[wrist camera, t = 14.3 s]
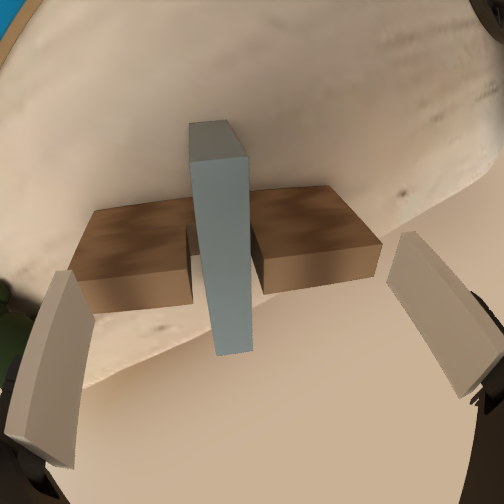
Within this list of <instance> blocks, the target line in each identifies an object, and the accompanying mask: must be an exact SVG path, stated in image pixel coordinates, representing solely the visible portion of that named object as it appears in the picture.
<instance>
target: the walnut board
mask: <svg viewBox="0 0 504 504" xmlns="http://www.w3.org/2000/svg"><path fill="white" fill-rule="evenodd" d="M249 205H250V251H251V256H252V259H253V262H254V266H255V269H256V272H257V275H258V278H259V281H260V284H261V288H262V291H263V294H271V293H278V292H284V291H291V290H297V289H304V288H310V287H316V286H322V285H328V284H334V283H340V282H346V281H352V280H357V279H363V278H369V277H374V274H375V270H376V267H377V263H378V259H379V256H380V252H381V249H382V245H383V244H382V243H381V241H380V240H379V239H378V238H377V237H376V236H375V235H374V233H373V232H372V231H371V230H370V229H369V228H368V227H367V226H366V224H365V223H364V222H363V221H362V220H361V219H360V218H359V217H358V216H357V215H356V213H355V212H354V211H353V210H352V209H351V208H350V207H349V206H348V205H347V204H346V203H345V202H344V201H343V200H342V199H341V197H340V196H339V195H338V194H337V193H336V192H335V191H334V190H333V189H332V188H331V187H330V186H314V187H299V188H284V189H271V190H259V191H249ZM192 255H200V249H199V242H198V234H197V226H196V218H195V210H194V202H193V197H190V198H182V199H174V200H166V201H159V202H151V203H144V204H137V205H130V206H124V207H117V208H111V209H105V210H99V211H94V213H93V215H92V217H91V219H90V221H89V223H88V225H87V227H86V229H85V231H84V234H83V236H82V238H81V240H80V242H79V244H78V246H77V249H76V251H75V253H74V255H73V258H72V260H71V262H70V265H69V267H68V270H72V271H73V273H74V275H75V278H76V280H77V282H78V285H79V287H80V289H81V291H82V293H83V296H84V298H85V300H86V302H87V304H88V306H89V308H90V310H91V312H92V314H98V313H110V312H121V311H131V310H142V309H151V308H161V307H170V306H179V305H188V304H193V293H192V276H191V257H190V256H192Z"/></svg>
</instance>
